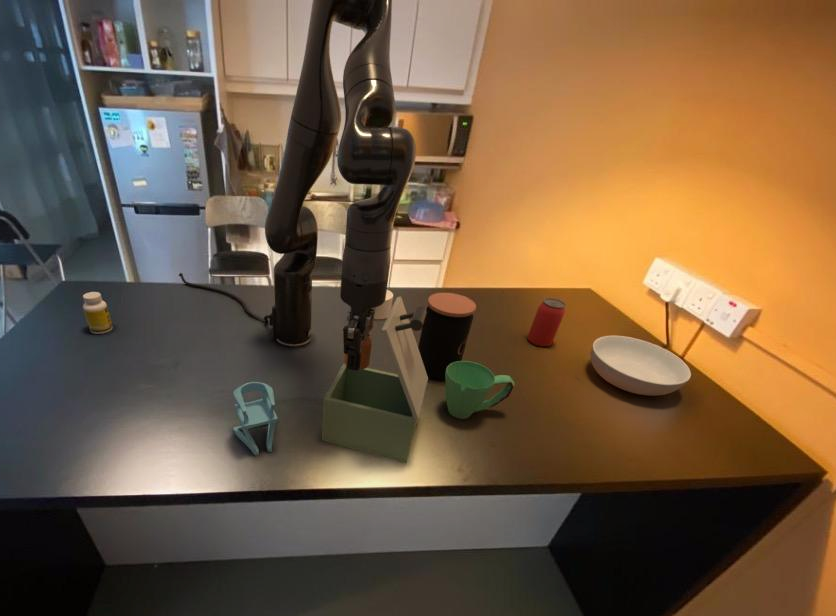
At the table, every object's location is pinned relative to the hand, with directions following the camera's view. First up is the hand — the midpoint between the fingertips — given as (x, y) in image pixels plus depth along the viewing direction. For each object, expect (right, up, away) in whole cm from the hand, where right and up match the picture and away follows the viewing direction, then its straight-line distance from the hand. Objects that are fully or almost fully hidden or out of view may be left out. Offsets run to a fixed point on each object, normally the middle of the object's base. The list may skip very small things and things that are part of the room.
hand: (356, 361), depth 78 cm
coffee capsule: (0, 0, 0) cm, 0 cm away
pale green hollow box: (+3, -14, +8) cm, 16 cm away
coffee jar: (+21, -1, +28) cm, 35 cm away
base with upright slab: (+8, +17, +51) cm, 54 cm away
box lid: (+8, 0, -4) cm, 9 cm away
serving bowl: (+69, -3, +28) cm, 74 cm away
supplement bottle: (-65, +10, +34) cm, 74 cm away
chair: (-19, -15, +5) cm, 25 cm away
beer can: (+53, +8, +42) cm, 68 cm away
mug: (+25, -10, +15) cm, 31 cm away
